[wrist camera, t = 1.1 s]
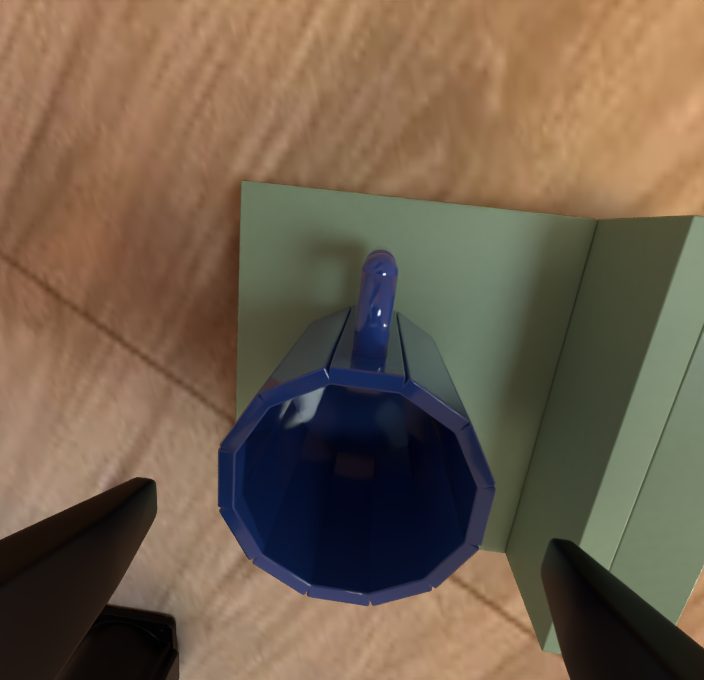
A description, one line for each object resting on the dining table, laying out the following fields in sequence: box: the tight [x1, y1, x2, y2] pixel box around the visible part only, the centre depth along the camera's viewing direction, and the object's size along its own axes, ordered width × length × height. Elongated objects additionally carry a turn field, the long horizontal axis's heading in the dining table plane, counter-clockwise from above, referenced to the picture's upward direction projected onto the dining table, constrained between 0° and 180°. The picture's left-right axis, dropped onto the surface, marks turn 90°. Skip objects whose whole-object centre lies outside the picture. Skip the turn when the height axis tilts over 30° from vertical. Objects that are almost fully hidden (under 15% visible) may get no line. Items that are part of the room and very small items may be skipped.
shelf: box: [236, 180, 704, 654], centre depth 15 cm, size 17×15×8 cm
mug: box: [218, 246, 496, 606], centre depth 12 cm, size 7×9×7 cm
